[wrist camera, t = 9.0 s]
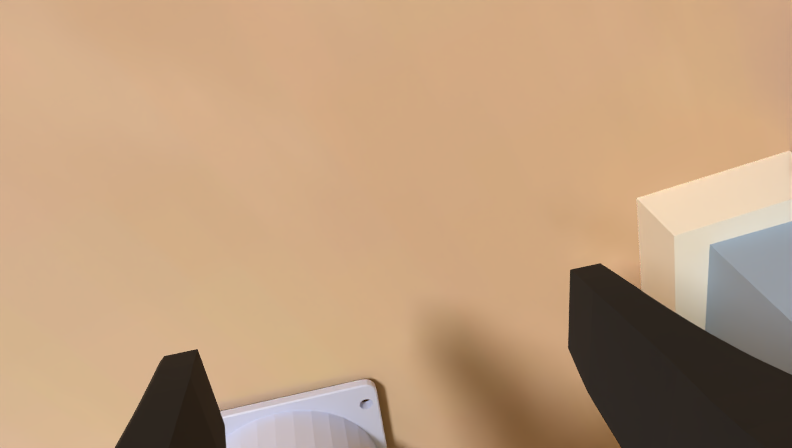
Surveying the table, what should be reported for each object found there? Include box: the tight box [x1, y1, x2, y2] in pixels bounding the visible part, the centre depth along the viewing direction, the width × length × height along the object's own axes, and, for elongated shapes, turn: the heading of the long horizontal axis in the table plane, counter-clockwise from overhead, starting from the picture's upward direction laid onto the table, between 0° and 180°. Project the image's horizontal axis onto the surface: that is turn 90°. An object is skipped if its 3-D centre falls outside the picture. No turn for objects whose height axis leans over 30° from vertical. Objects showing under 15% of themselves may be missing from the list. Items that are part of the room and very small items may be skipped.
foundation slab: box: [636, 151, 792, 330], centre depth 27 cm, size 6×6×3 cm
